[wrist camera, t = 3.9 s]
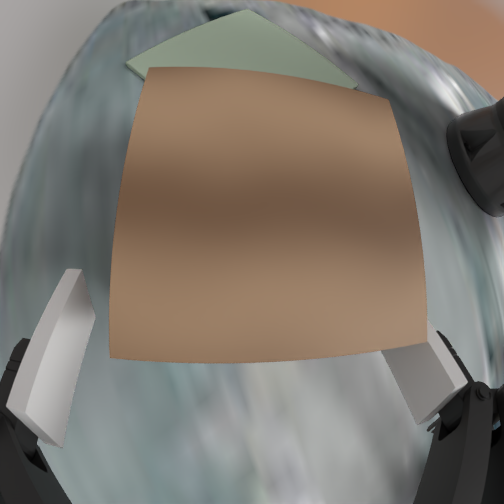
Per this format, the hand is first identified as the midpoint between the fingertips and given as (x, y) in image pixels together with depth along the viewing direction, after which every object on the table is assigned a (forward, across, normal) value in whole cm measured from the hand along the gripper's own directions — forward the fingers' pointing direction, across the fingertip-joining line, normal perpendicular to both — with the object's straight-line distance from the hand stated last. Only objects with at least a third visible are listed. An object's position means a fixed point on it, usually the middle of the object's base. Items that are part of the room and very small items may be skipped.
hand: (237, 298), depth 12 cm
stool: (+9, +1, -4) cm, 10 cm away
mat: (+23, +2, +10) cm, 25 cm away
